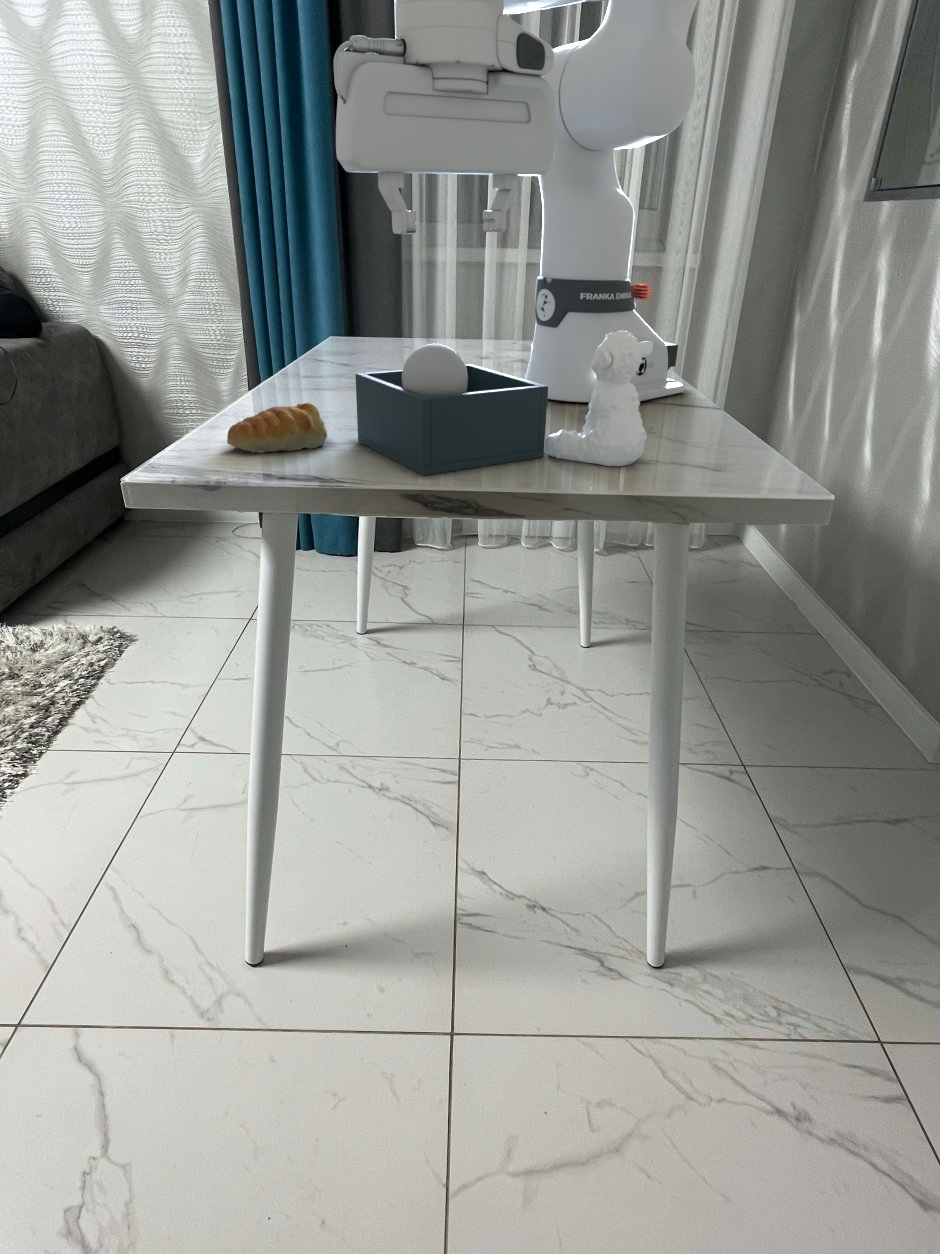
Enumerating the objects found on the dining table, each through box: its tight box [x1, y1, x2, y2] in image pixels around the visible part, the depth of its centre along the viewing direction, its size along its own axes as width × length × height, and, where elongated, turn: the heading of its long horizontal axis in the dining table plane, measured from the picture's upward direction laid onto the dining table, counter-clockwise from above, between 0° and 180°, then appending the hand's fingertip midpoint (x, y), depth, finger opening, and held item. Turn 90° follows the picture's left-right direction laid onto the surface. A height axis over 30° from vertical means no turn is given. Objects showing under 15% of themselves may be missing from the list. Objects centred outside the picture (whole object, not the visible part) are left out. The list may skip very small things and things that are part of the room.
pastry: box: [226, 402, 328, 454], centre depth 80 cm, size 9×7×4 cm
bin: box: [354, 363, 549, 476], centre depth 80 cm, size 14×14×7 cm
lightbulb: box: [402, 343, 468, 397], centre depth 77 cm, size 6×6×11 cm
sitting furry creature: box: [544, 330, 653, 467], centre depth 77 cm, size 10×9×12 cm
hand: (450, 233), depth 73 cm, fingers open, 8 cm apart
